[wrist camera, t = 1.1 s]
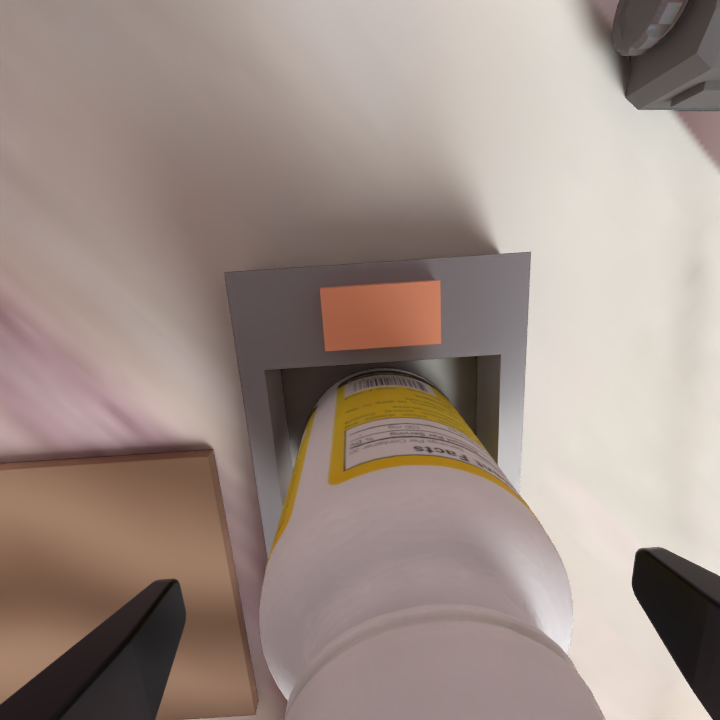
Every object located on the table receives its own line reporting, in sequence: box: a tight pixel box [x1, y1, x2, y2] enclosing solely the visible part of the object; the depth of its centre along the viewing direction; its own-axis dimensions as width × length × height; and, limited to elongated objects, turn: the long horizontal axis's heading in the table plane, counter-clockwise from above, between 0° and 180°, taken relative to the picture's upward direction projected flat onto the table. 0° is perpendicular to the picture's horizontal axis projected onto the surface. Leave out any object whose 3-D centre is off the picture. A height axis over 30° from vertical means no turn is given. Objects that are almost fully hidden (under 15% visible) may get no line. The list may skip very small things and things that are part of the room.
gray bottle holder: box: [224, 252, 531, 559], centre depth 13 cm, size 22×8×3 cm, turn 4°
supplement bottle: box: [259, 368, 605, 720], centre depth 8 cm, size 5×5×10 cm
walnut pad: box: [0, 450, 258, 720], centre depth 14 cm, size 12×12×1 cm
